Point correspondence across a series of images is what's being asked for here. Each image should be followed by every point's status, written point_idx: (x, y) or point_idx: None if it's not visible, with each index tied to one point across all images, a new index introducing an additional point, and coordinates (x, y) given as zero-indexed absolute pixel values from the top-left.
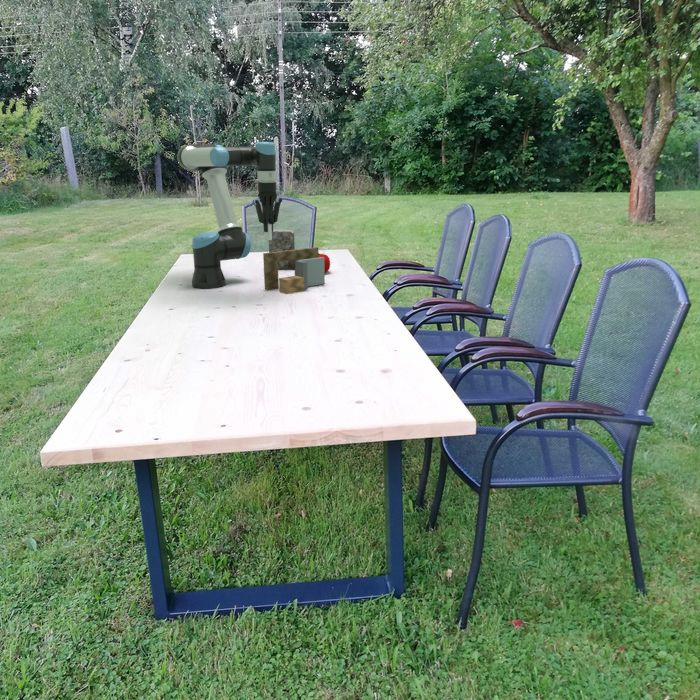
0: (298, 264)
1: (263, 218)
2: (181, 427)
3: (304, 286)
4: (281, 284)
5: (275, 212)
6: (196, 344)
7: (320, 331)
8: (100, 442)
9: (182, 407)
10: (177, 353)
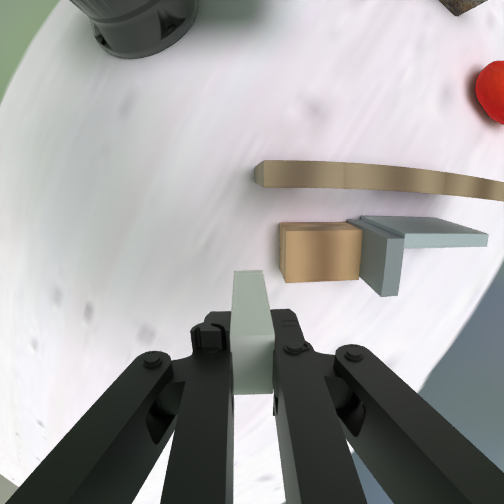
0: (379, 258)
1: (162, 441)
2: None
3: None
4: (283, 242)
5: (380, 468)
6: (27, 428)
7: None
8: (9, 479)
9: None
10: (15, 432)
